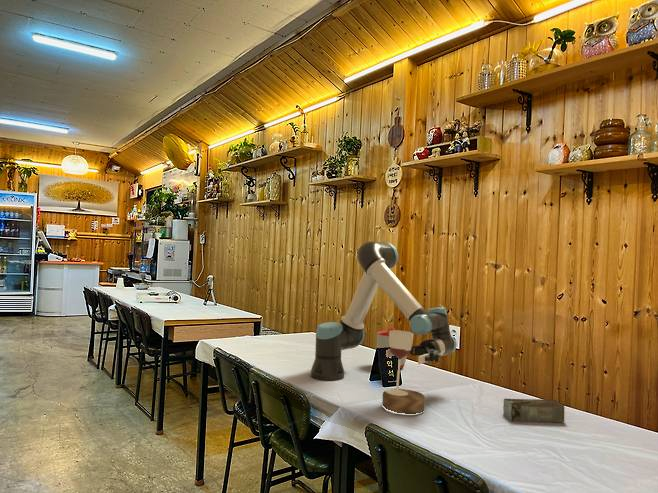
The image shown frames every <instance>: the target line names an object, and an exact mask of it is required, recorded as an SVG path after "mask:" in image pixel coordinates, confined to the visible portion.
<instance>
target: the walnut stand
mask: <svg viewBox="0 0 658 493" xmlns="http://www.w3.org/2000/svg"><path fill="white" fill-rule="evenodd" d="M398 390H402V391H405V392H407V393H408V395H406V396H397V395H391V394H388V393H387V392H386V390H384V391H383V392H382V402H381V403H382V405H383V406H384V407H385V408H386V409H388V410H391V411H394V412H397V413H405V414H416V413H421V412H423V411H424V412H425V397H426V396H425V395H424V394H423V393H421V392H419V391H416V390H413V389H412V390H411V389H405V388H404V389H403V388H398ZM382 405H381V406H382ZM424 412H423V413H424Z"/></svg>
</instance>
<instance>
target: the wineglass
mask: <svg viewBox="0 0 658 493" xmlns="http://www.w3.org/2000/svg"><path fill="white" fill-rule="evenodd" d="M414 335H415V333H414V332H413V331H412V332H411V331H407V330H406V331H405V330H399V329H398V330H397V329H396V330H393V331H389V347H390V351H391V353H392V354H393V355H394V356H396V357H397V358H398V370H397V374H396V388H392V389H390V388H389V389H385V391H386V392H387V393H388V394H391V395H397V396H406V395H408V393H407V392H405V391H402V390H398V389H400V388H399V386H400V373H401V369H400V361H401V358H403V357H405V356H408V355H410V354H409V353H410V351H411V348H412V346H413V341H414Z"/></svg>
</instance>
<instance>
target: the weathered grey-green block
mask: <svg viewBox="0 0 658 493" xmlns="http://www.w3.org/2000/svg"><path fill="white" fill-rule="evenodd" d="M502 408H503V409H502V410H503V415H504V416H505V417H506V418H507V419H508V420H510V422H524V421H525V422H530V423H534V422H535V423H564V422H565V405H564V404H563V403H561V402H559V401H558V400H556V399H550V398H546V399H545V398H544V399H540V398H538V399H534V398H533V399H532V398H529V399H527V398H504V399H503V407H502Z"/></svg>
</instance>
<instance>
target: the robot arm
mask: <svg viewBox="0 0 658 493" xmlns="http://www.w3.org/2000/svg"><path fill="white" fill-rule="evenodd" d="M356 254H357V256H356V258H357V262H358V264H359V266H360V267H361V269H362V270H363V274H362V277H361V279H360V281H359V283H358V286H357V288H356V290H355V292H354V295H353V297H352V300H351V303H350V305H349V307H348V310H347V312H346V314H344V315H342V316H341V318H340V320H339V322H336V321H334V322H333V321H329V322H324V323H320V324H318V325H317V326H316V332H315V355H314V361H313V363H312V366H311V370H310V376H312V377H311V378H313V377H314V378H313V379H316V378H318V379H317V380H320V379H323V380H322V381H338V380H343V379H344V378H345V370H344V366H343V361H342V351H344V350H345V351H346V350H351V349H354V348H356V347H359V346H360V345H361V344H362V343H363V341H364V339H365V324H364V320H365V319H366V316H367V314H368V312H369V309H370V307H371V305H372V303H373V300H374V298H375V296H376V293H377V291H378V289H379V286H380V288H381V289H382V290H383V291H384V292H385V294H386V295H387V296H388V297H389V298H390V300H391V301H392V302H393V303H394V304H395V305H396V307H397V308H398V309H399V310H400V312H402V314H403V315H404V316H405V317H406V319H407V320H408V321H409V327H410V330H411V331H412V333H414V335H415V334H416V335H419V336H420V335H427V334H431V337H432V338H429V339H425V340H422V341H421V342H420V343H419V344H418V345H412V348H411V351H410V353H409V354H408V355H411V356H418V358H417V359H418V362H417V363H418V364H417V365H422V364H426V363H429V362H435V363H439V361H440V360H439V359H440V358H441V357H442V356H447V355H450V354H452V353H453V352H455V350H456V349H457V345H458V344H457V340H456V338H454V336H452V334H451V330H450V324H449V317H448V316H449V315H448V313H447V312H448V311H447V308H446V307H445V306H439V307H432V308H428V309H427V311H426V310H425V308H424V307H423V306H422V305H421V304H420V302H418V300H417V298H415V297H414V295H413V294H412V293H411V292H410V291H409V289H407V287H405V285H404V284H403V283H402V281H401V280H400V279H399V278H398V277H397V276H396V275H395V274H394V272H393V271H392V270H391V269H392V268H393V267H395V266H396V265H397V264H398V261H399V253H398V250H397V248H396V247H395V245H393V244H392V243H389V242H386V241H372V240H371V241H370V240H369V241H366V242H364V243H363V244H361V245H360V246H359V248H358V250H357V253H356ZM392 356H394V355H393V354H392V353H391V351H390V349H388V350H386V357H387V358H388V357H392Z"/></svg>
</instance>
